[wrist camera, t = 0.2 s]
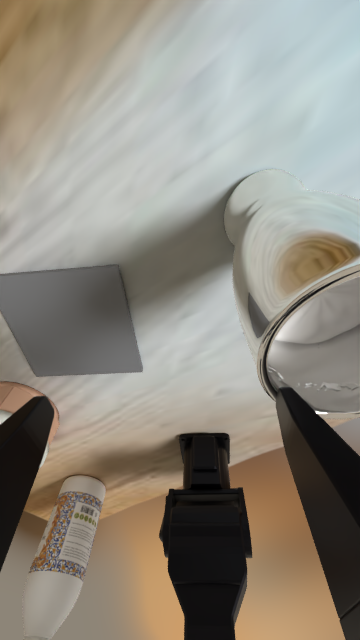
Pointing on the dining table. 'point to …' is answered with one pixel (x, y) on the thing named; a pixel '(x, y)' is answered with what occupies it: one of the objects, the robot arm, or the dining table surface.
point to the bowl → (23, 401)
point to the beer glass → (299, 288)
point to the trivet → (71, 320)
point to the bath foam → (62, 557)
